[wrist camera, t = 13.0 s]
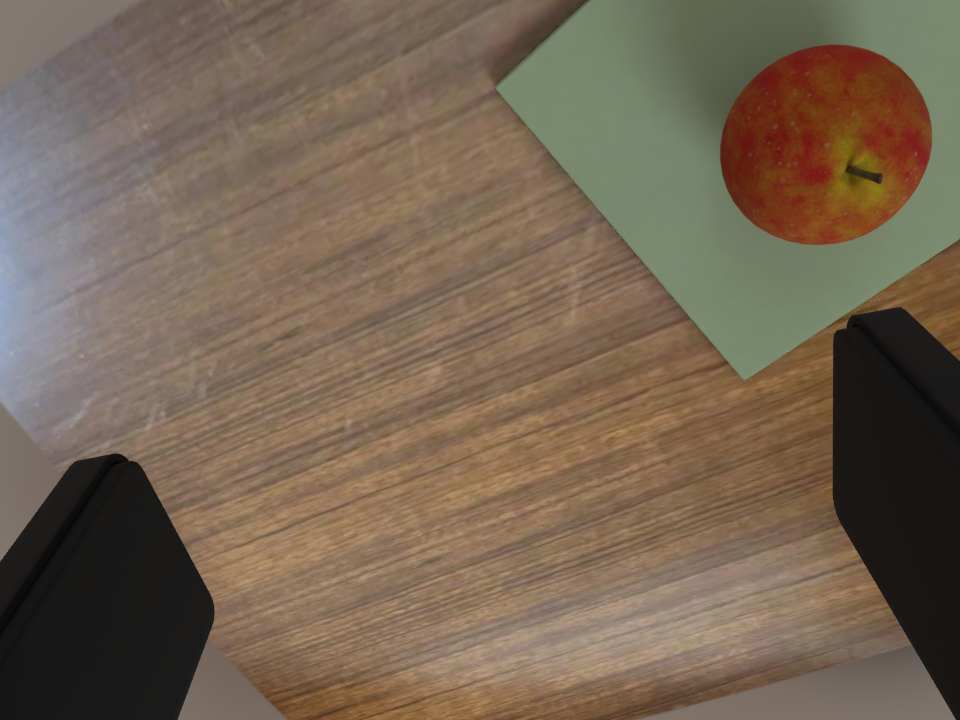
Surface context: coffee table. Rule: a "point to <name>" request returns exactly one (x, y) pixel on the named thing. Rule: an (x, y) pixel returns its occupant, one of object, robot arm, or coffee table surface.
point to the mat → (696, 151)
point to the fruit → (825, 144)
